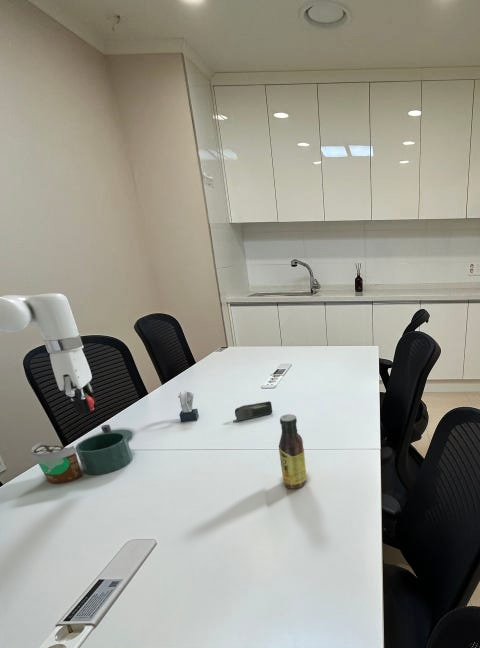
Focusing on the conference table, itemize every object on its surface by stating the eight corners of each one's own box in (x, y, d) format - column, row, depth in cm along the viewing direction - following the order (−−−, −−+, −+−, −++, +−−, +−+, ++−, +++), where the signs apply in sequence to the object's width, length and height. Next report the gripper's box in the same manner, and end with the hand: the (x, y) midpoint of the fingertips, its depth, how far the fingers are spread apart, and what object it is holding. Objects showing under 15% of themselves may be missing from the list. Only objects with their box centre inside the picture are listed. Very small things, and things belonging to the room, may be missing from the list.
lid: (80, 453, 122) (74, 438, 120) (94, 435, 134) (88, 421, 132) (127, 446, 126) (122, 431, 124) (137, 429, 138) (132, 415, 135)
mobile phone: (269, 399, 148) (229, 407, 141) (272, 402, 146) (231, 410, 138) (271, 411, 150) (231, 420, 143) (273, 414, 148) (233, 423, 140)
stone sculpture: (199, 414, 149) (193, 387, 145) (196, 422, 142) (189, 394, 138) (184, 415, 148) (177, 388, 144) (179, 424, 141) (172, 396, 137)
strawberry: (76, 414, 104) (71, 398, 102) (82, 408, 108) (76, 393, 106) (93, 411, 105) (88, 396, 103) (98, 406, 109) (93, 391, 107)
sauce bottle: (282, 479, 106) (273, 413, 98) (305, 475, 108) (297, 409, 100) (285, 492, 100) (276, 423, 92) (309, 487, 102) (302, 419, 94)
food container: (31, 483, 107) (16, 452, 103) (52, 472, 113) (39, 441, 109) (66, 489, 104) (53, 456, 100) (86, 476, 110) (74, 445, 106)
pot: (77, 478, 109) (68, 455, 106) (92, 457, 120) (84, 436, 117) (126, 470, 112) (119, 447, 109) (136, 450, 123) (130, 429, 120)
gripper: (60, 338, 105) (82, 401, 113) (31, 353, 91) (59, 424, 98) (91, 336, 107) (111, 397, 115) (68, 350, 93) (93, 419, 100)
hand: (87, 409), depth 106 cm, fingers closed on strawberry, 4 cm apart
